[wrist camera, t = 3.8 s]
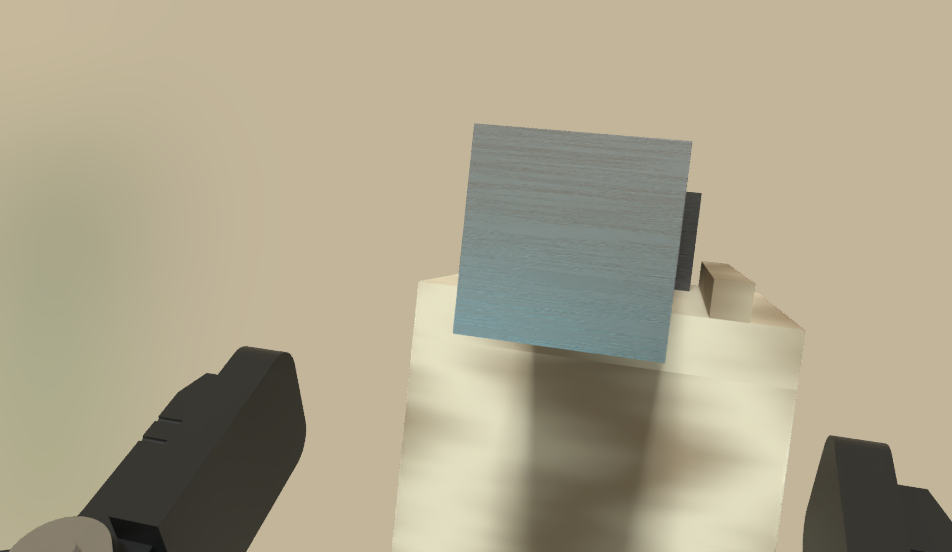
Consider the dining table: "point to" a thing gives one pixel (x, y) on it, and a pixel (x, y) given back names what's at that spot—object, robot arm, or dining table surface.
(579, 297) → the gray block
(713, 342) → the beige patterned box
